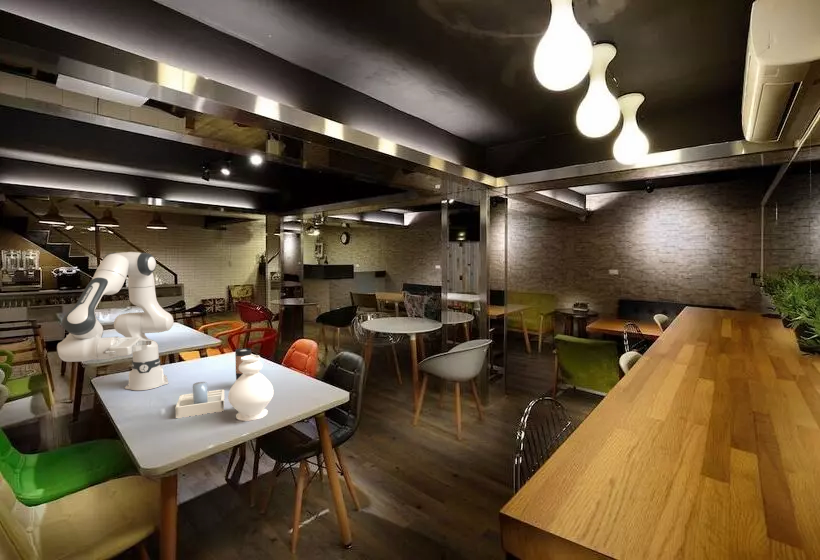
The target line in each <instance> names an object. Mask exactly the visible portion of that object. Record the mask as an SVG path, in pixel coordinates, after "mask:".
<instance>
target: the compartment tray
mask: <svg viewBox="0 0 820 560" xmlns="http://www.w3.org/2000/svg"><path fill="white" fill-rule="evenodd" d="M207 393H208V402H207V403H200V404H193V393H185V394H180V395H179V398H178V401H177V403H176V405H175V409H174V410H175V419H176V418H178V419H183V418H182V417H184V418H188V417H189V416H191V417H195V415H197V416H203V415H208V414H207V413H210V414H215V413H214V412H216V413H222V411H223V412H224V411H225V400H224V399H225V389H224V388H223V389H216V390H209V391H208V390H207ZM202 414H203V415H202ZM189 418H190V417H189Z"/></svg>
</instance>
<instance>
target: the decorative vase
mask: <svg viewBox="0 0 820 560" xmlns="http://www.w3.org/2000/svg"><path fill="white" fill-rule="evenodd" d="M260 360H261V355H258V354H251V355H248V356H244V357H241V361H243V362H242V363H241V364H240V365H239V371H240V372H242V373H243V374H242V375H241V376H240V377H239V378H238V379H237V380H235V381H234V383H232V385H231V387H230V389H229V391H228V403H229V404H230V406H231V407H232V408H233V409H235V410H236V411H237V413H236V415H235V418H236V420H238V421H242V422H248V421H249V422H251V421H256V420H259V419H262V418H264V417H265V416H267V415H268V412H269V410H268V409H267V408H266V407H267V406H268V404H270V402H271V400H272V399H273V397H274V392H275V391H274V386H273V384H272V382H271V381H270V380H269V379H268V378H267V377H266V376H265V375H264V374H262V373H261V372H260V371H261V370H262V369H263V366H264V365H263V363H262V362H261V361H260Z"/></svg>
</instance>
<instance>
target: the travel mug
mask: <svg viewBox="0 0 820 560" xmlns="http://www.w3.org/2000/svg"><path fill="white" fill-rule="evenodd" d="M234 352H235V379H236V380H237V379H238V378H239V377H240V376H241V375H242V374H243V373H242V372H240V371H239V365H240V364H241V363H242V362H243V361H241V357H244V356H248V355H252V349H251V348H250V347H245V348H242V349H241V348H237V349H235V350H234ZM236 380H235V381H236Z"/></svg>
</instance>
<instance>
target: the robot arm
mask: <svg viewBox="0 0 820 560" xmlns="http://www.w3.org/2000/svg"><path fill="white" fill-rule="evenodd" d="M156 268H157V260H156V258H155V256H154V255H153V254H152V253H148V252H137V251H136V252H135V251H128V252H127V251H126V252H124V251H123V252H122V251H121V252H110V253H107V254H105V255H104V256H103V258H102V260H101V262H100V264H99V265H98V267H97V268H96V271H95V272H94V275H93V277H92V279H91V280H90V281H89V282H88V284H87V285H86V287H85V288H84V290H83V292H82V293H81V295H80V297H79V298H78V300H77V301H76V303H75V305H74V306H73V307H72V308H71V309H69V311H67V312H66V313H65V314H64V315H63V318H62V320H61V324H62V325H61V326H62V328H63V329H64V330H65V331H66V332H68V335H66V337H65V338H63V340H61V341H60V342H58V343H57V345H56V354H57V356H58V358H59V359H60V360H61V361H63V362H67V363H68V362H70V363H72V362H74V363H77V362H78V363H79V362H88V361H90V360H97V361H98V360H99V361H100V360H112V359H115V358H116V357H126V356H131V355H132V361H131V369H132V370H130V371H129V372H128V384H126V386H124V390H129V391H130V390H132V391H147V390H151V389H156V388H158V387H161V386H164V385H168V384H169V380H168V377H167V375H166V374H164V368H163V367H162V366H161V358H160V356H159V352H160V351H159V344H158V343H157V342H156V341H155V340H154V339H150V338H149V337H147V335H146V334H153V333H154V334H156V333H159V334H160V333H163V332H168V331H169V330H171V329H172V327H173V326H174V321H175V320H174V317H173V315H172V314H171V313H170V312H168V311H167V310H165V309H164V308H163V307H162V306H161V305H160V303H159V302H158V299H157V295H156V294H157V292H156V286H155V285H156V284H155V282H156V281H155V277H154V274H153V273H154V272H155V270H156ZM127 276H128V280H127V286H128V297H129V298H128V300H129V302H130V303H131V304H132V305H134V306H135V307H136V306H137V307H139V308H140V309H142V311H143V312H142V311H141V312H140V311H139V312H127V313H123V314H119V315H117V316H116V317H115V319H114V322H113V328H114V330H115V331H116V333H118V334H120V335H122V336H123V337H120V336H110V337H103V334H104V328H103V325H102V324H101V322H100V321H99V320H98V319H97V316H96V308H97V306H98V305H99V303H100V302H101V299H102V297H104V295H105V296H106V295H107V296H110V295H111V296H113V295H115V294H117V293H118V292H120V290H121V289H122V287H123V286H124V283H125V281H126V279H127Z"/></svg>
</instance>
